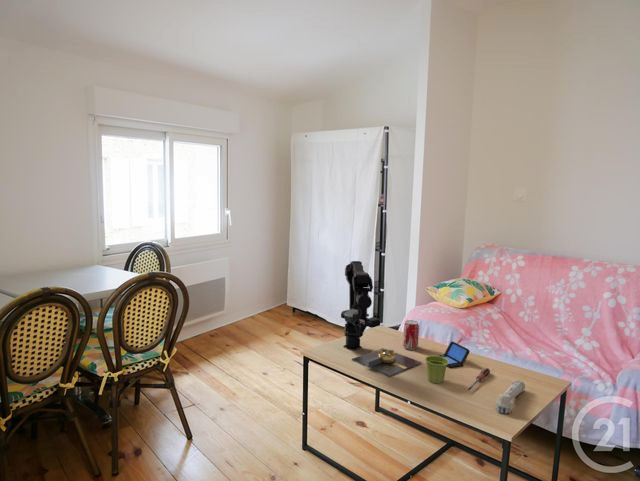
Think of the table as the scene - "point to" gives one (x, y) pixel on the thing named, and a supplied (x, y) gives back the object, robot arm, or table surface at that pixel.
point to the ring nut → (382, 358)
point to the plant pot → (436, 368)
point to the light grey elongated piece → (509, 397)
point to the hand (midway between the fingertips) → (359, 337)
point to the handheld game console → (455, 355)
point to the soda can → (411, 335)
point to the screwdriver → (481, 377)
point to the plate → (388, 367)
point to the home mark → (399, 365)
